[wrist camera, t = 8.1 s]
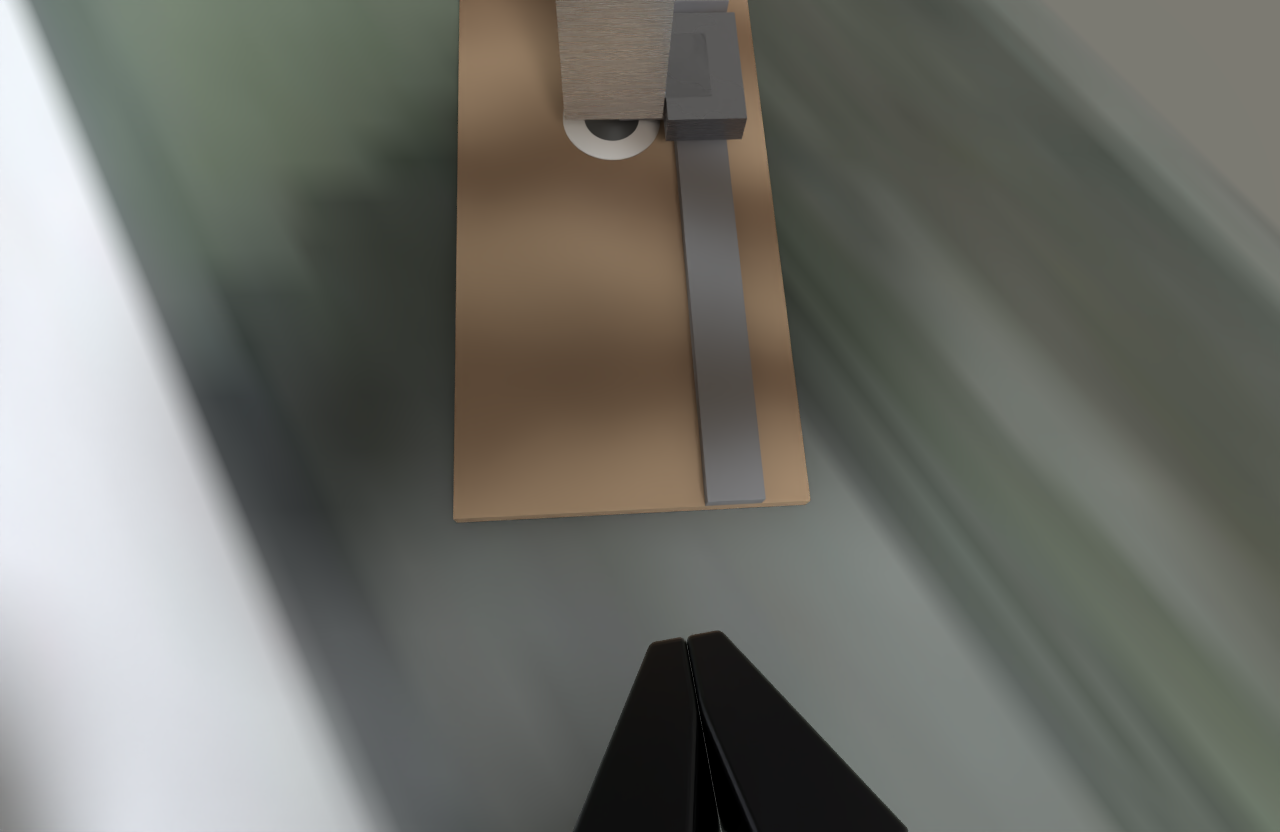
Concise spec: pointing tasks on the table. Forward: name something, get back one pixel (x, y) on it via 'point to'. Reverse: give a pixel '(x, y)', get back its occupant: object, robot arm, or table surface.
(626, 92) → the sliding leg
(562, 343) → the bolt board
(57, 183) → the table surface
